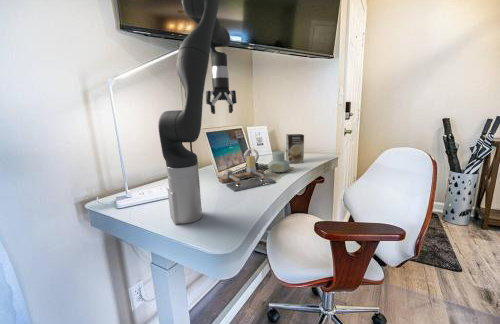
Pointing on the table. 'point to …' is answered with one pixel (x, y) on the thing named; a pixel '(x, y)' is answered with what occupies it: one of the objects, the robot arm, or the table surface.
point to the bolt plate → (249, 183)
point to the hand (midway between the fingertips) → (222, 113)
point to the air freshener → (278, 162)
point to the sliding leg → (252, 166)
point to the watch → (249, 154)
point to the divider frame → (236, 176)
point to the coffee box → (294, 148)
